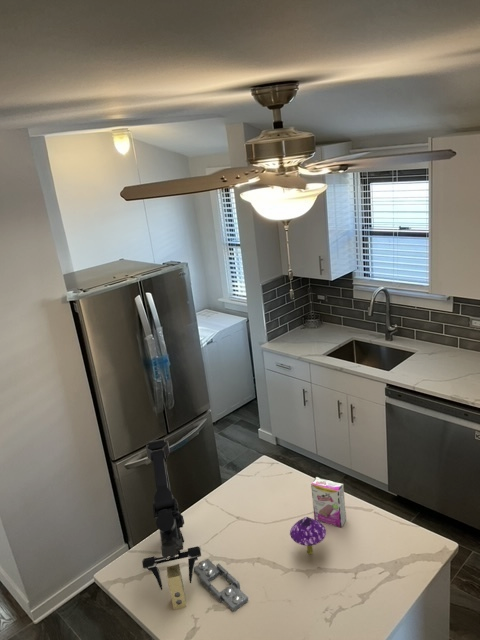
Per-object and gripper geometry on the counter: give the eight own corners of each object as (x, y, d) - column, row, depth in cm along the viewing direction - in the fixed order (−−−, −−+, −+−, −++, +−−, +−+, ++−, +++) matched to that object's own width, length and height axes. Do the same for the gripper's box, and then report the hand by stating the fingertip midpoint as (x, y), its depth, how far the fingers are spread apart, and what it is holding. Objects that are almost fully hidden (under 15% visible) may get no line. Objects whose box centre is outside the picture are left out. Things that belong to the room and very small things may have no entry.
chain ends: (191, 572, 180) (190, 566, 179) (210, 560, 184) (209, 554, 184) (230, 613, 162) (229, 607, 161) (251, 599, 166) (250, 592, 165)
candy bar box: (313, 520, 197) (310, 483, 193) (319, 512, 201) (315, 476, 196) (341, 528, 191) (338, 490, 186) (346, 520, 195) (343, 483, 190)
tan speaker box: (173, 597, 171) (166, 566, 167) (185, 594, 171) (179, 563, 168) (174, 610, 166) (167, 578, 162) (186, 607, 166) (180, 575, 163)
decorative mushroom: (311, 535, 190) (307, 500, 185) (335, 553, 180) (332, 517, 176) (285, 552, 183) (280, 517, 179) (309, 572, 173) (305, 535, 169)
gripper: (137, 538, 165) (143, 593, 157) (195, 525, 167) (204, 578, 160) (142, 542, 174) (148, 593, 167) (197, 530, 177) (205, 580, 169)
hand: (176, 586), depth 166 cm, fingers open, 9 cm apart
